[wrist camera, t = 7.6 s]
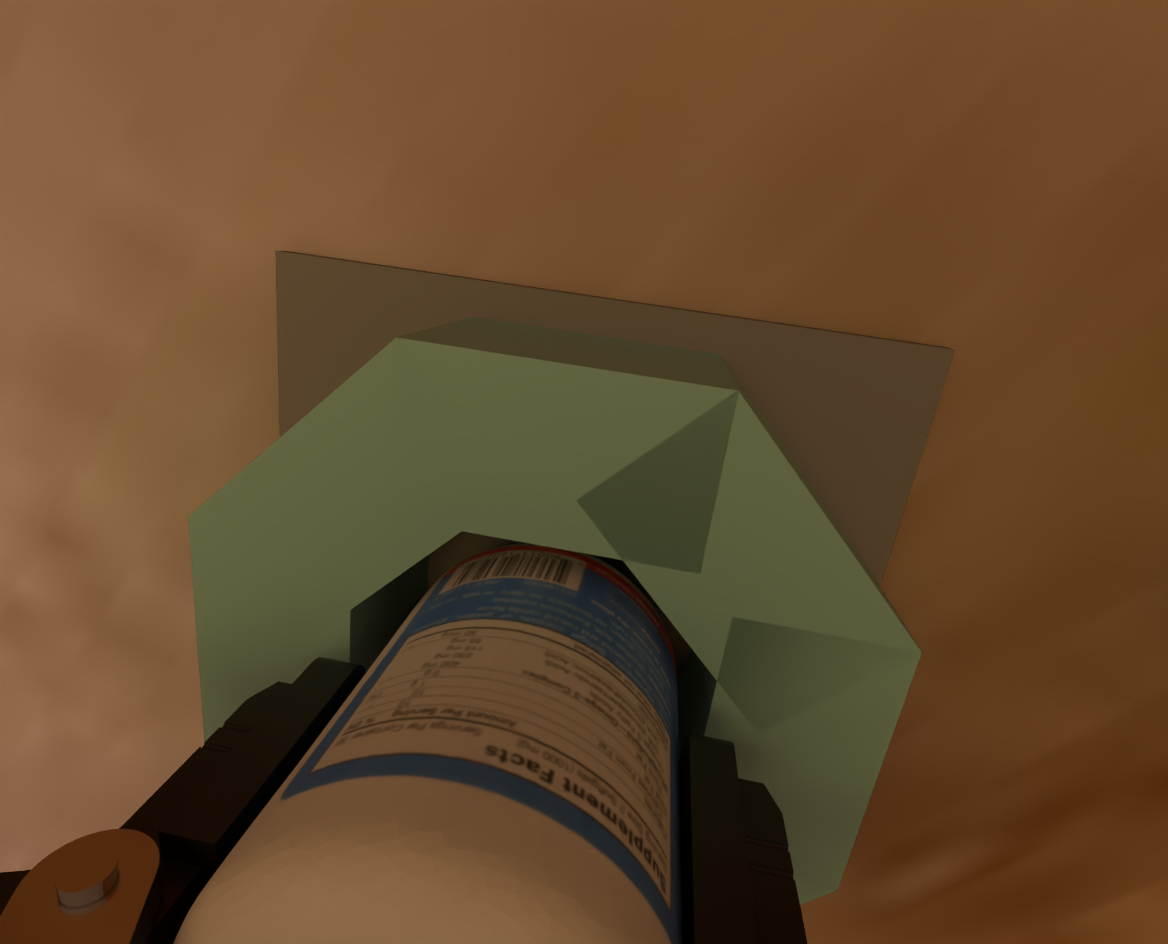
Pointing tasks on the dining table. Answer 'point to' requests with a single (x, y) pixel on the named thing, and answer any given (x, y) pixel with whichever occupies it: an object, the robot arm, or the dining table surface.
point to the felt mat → (749, 347)
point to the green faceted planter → (570, 545)
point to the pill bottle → (481, 778)
